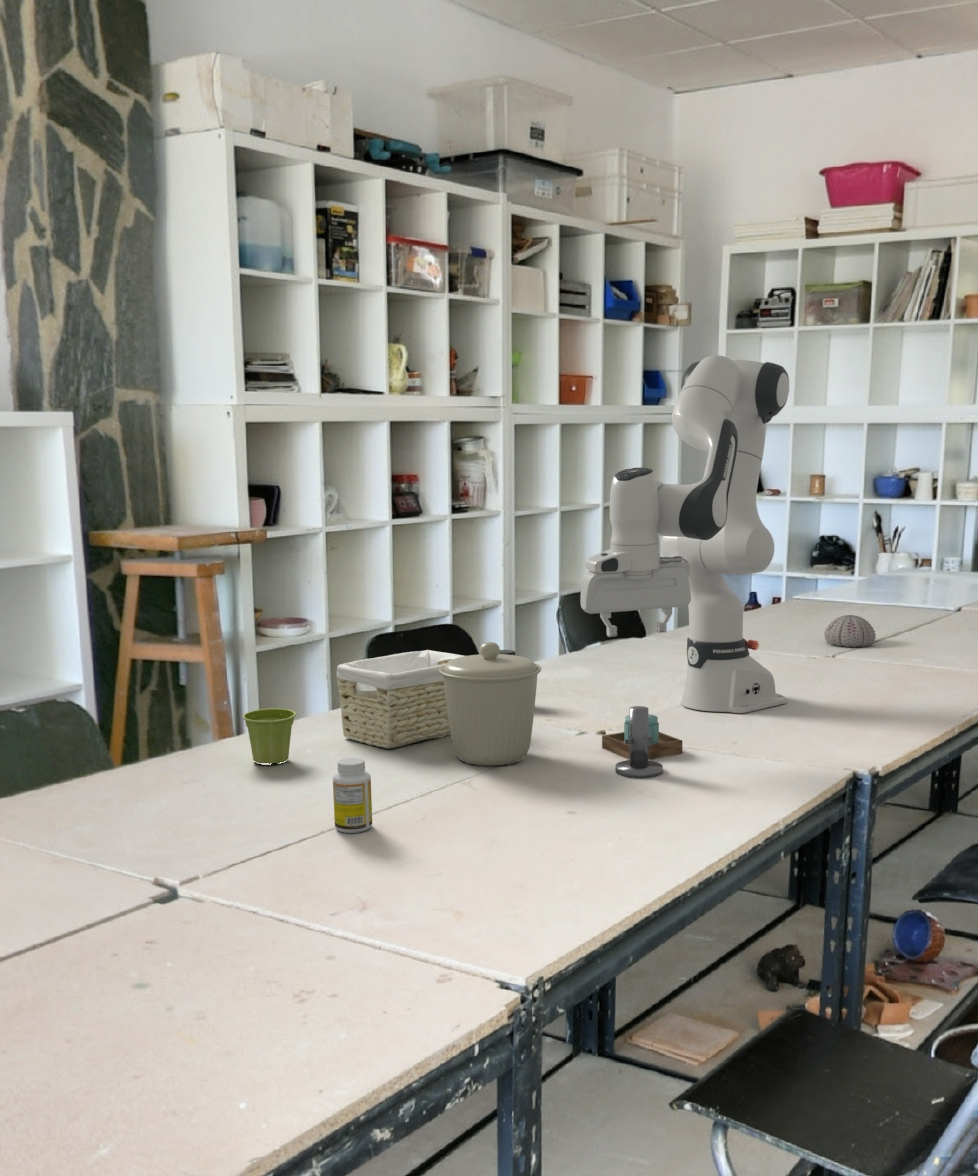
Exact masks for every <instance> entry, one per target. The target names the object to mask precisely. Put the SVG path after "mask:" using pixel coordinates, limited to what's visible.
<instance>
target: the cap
mask: <svg viewBox="0 0 978 1176" xmlns="http://www.w3.org/2000/svg"><path fill="white" fill-rule="evenodd" d="M624 718H625V721H624V722H623V723H624V724H623V725H624V726H623V727H624V731H623V732H624V743H626V739H629V715H626V716H625V717H624ZM658 719H659V717H658V716H657V715H654V714H649V713H648V736H652V741H648V745H650V744H656V743H659V732H660V727H659V726H660V723H659V720H658Z"/></svg>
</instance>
